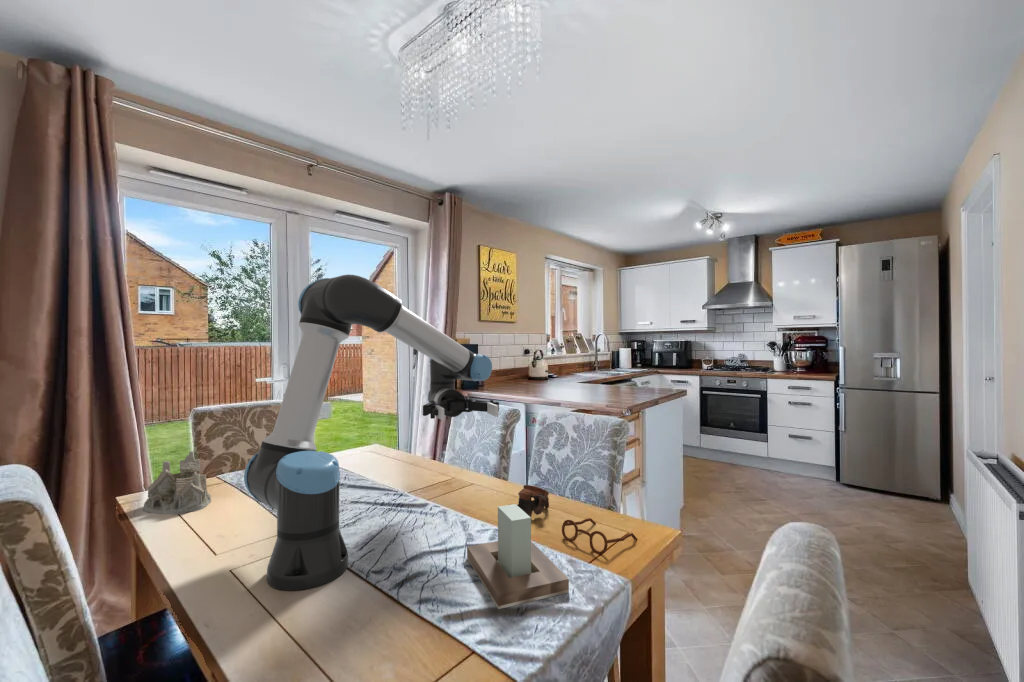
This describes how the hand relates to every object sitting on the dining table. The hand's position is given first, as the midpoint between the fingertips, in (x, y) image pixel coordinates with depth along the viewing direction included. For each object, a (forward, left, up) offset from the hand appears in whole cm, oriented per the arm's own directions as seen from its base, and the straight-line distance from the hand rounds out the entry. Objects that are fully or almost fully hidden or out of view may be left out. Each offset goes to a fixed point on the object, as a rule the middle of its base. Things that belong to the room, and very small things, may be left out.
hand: (470, 412), depth 107 cm
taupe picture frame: (-7, -19, -30) cm, 36 cm away
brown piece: (+22, -3, -30) cm, 37 cm away
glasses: (+18, -25, -31) cm, 43 cm away
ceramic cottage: (-38, +81, -30) cm, 95 cm away
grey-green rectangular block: (-7, -19, -29) cm, 36 cm away
